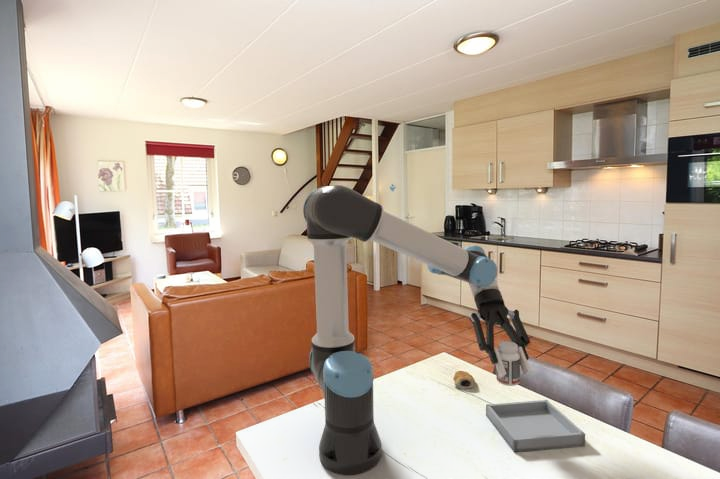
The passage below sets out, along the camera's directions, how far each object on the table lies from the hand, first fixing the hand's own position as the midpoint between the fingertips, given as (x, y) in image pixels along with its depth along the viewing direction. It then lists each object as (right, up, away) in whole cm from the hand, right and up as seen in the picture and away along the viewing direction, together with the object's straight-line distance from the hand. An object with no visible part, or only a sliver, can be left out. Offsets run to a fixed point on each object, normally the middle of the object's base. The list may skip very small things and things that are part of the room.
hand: (515, 374), depth 95 cm
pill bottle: (0, -3, +4) cm, 5 cm away
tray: (+6, -16, +5) cm, 18 cm away
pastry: (-5, -14, +31) cm, 35 cm away
